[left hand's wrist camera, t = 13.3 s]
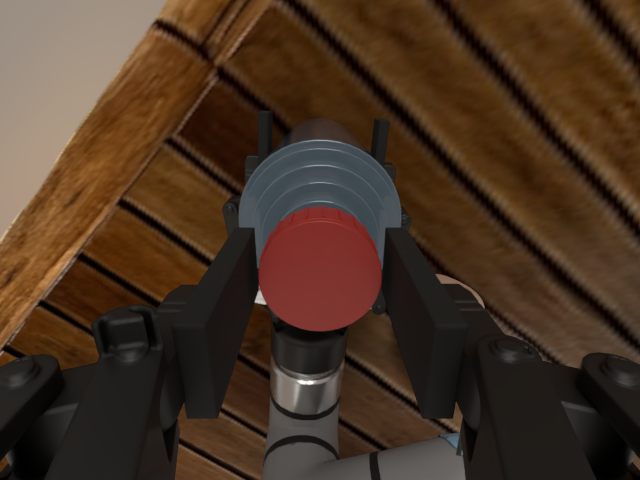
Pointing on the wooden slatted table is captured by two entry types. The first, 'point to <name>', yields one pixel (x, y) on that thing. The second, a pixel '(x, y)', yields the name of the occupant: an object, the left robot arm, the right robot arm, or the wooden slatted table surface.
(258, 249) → the bottle
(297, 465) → the right robot arm
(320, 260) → the cap
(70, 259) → the wooden slatted table surface
